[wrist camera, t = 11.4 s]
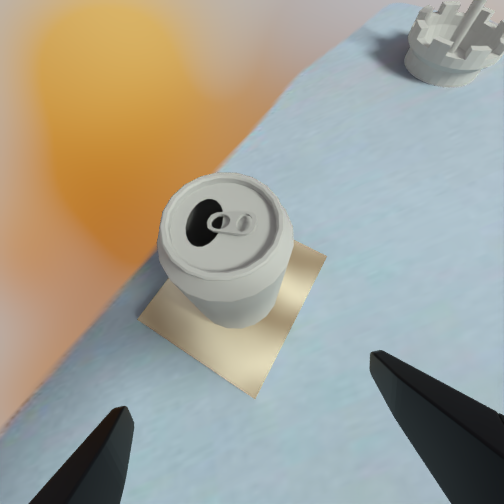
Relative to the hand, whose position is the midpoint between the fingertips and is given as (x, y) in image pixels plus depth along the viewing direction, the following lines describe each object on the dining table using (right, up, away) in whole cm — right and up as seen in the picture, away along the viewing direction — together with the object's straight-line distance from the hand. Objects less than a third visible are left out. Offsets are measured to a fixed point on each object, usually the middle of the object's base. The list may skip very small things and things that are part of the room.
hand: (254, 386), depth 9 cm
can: (-1, +1, +14) cm, 14 cm away
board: (-1, +1, +15) cm, 16 cm away
